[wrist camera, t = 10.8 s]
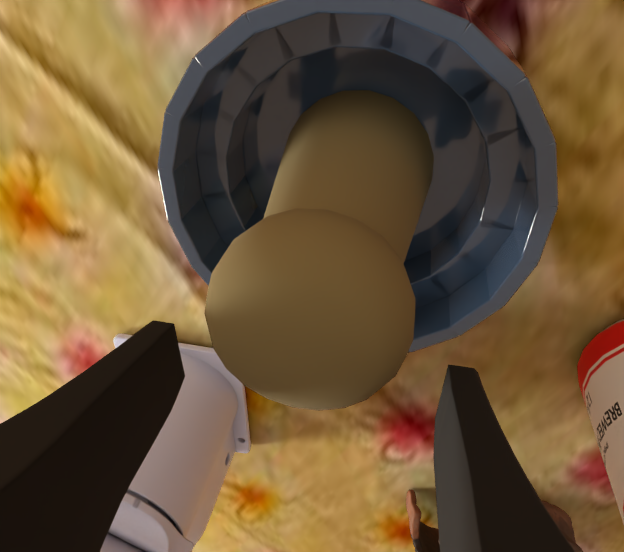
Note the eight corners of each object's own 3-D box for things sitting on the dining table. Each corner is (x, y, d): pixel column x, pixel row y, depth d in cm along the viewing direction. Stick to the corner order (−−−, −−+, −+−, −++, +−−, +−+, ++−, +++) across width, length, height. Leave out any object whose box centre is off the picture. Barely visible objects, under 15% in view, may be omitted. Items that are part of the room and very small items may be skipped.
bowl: (488, 307, 23) (498, 378, 19) (223, 272, 25) (187, 330, 21) (585, -20, 15) (632, -3, 11) (186, -31, 17) (120, -20, 13)
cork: (426, 75, 17) (418, 231, 8) (439, 224, 20) (444, 451, 11) (267, 104, 19) (121, 259, 10) (303, 237, 22) (216, 442, 13)
